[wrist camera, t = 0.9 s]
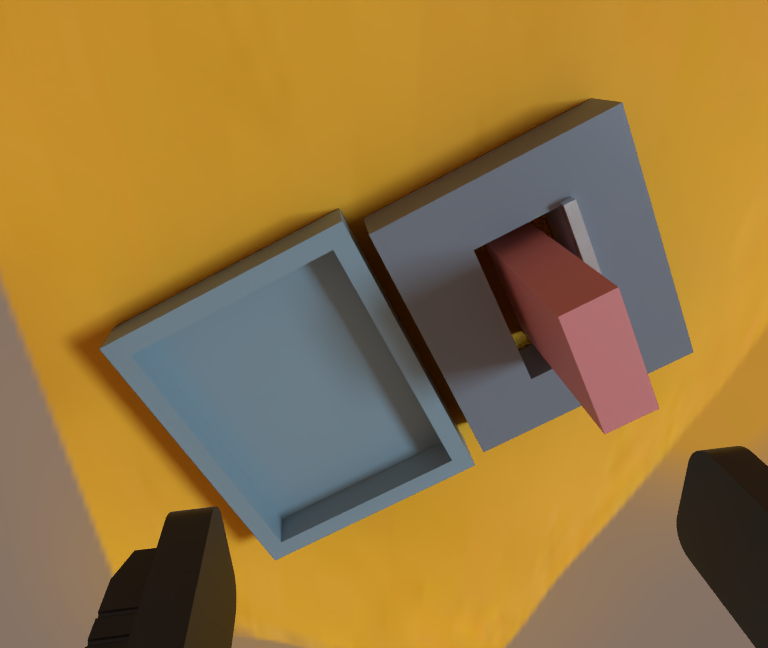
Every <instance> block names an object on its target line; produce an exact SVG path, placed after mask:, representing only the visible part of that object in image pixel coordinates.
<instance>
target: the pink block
mask: <svg viewBox="0 0 768 648" xmlns="http://www.w3.org/2000/svg"><path fill="white" fill-rule="evenodd" d="M485 246H486V248H487V250H488V253H489V255H490V257H491V259H492V262H493V264H494V266H495V269H496V271H497V273H498V276H499V278H500V280H501V282H502V285H503V287H504V289H505V292H506V294H507V296H508V299H509V301H510V303H511V305H512V308H513V310H514V312H515V315H516V317H517V319H518V322H519V324H520V326H521V328H522V331H523V332H524V334H525V335H526V336H527V337H528V339H529V340H530V341H531V342H532V344H533V345H534V346H535V347H536V349H537V350H538V351H539V352H540V354H541V355H542V356H543V357H544V359H545V360H546V361H547V362H548V364H549V365H550V366H551V367H552V369H553V370H554V371H555V372H556V374H557V375H558V376H559V377H560V379H561V380H562V381H563V383H564V384H565V385H566V386H567V388H568V389H569V390H570V391H571V393H572V394H573V395H574V396H575V398H576V399H577V400H578V401H579V403H580V404H581V405H582V406H583V408H584V409H585V410H586V411H587V413H588V414H589V415H590V416H591V418H592V419H593V420H594V421H595V423H596V424H597V425H598V427H599V428H600V429H601V430H602V432H603V433H604V434H606V433H608V432H611V431H613V430H615V429H617V428H619V427H621V426H623V425H625V424H627V423H630V422H632V421H634V420H636V419H638V418H640V417H642V416H644V415H647V414H649V413H651V412H653V411H655V410H657V409H659V406H658V403H657V400H656V397H655V394H654V391H653V388H652V385H651V382H650V379H649V376H648V373H647V370H646V367H645V365H644V362H643V359H642V356H641V353H640V350H639V347H638V344H637V341H636V338H635V335H634V332H633V329H632V326H631V323H630V320H629V317H628V314H627V311H626V308H625V305H624V302H623V299H622V296H621V293H620V290H619V287H618V286H616V285H615V284H614V283H612V282H611V281H610V280H608V279H607V278H605V277H604V276H603V275H601V274H600V273H599V272H597V271H596V270H594V269H593V268H592V267H590V266H589V265H588V264H586V263H585V262H584V261H582V260H581V259H579V258H578V257H577V256H575V255H574V254H573V253H571V252H570V251H568V250H567V249H566V248H564V247H563V246H562V245H560V244H559V243H558V242H556V241H555V240H553V239H552V238H551V237H549V236H548V235H547V234H545V233H544V232H542V231H541V230H540V229H538V228H537V227H536V226H534V225H533V224H532V223H530V222H528V223H526V224H524V225H522V226H520V227H518V228H516V229H514V230H512V231H510V232H508V233H506V234H504V235H503V236H501V237H499V238H497V239H495V240H493V241H491V242H489V243H487V244H485Z"/></svg>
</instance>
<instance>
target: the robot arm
mask: <svg viewBox="0 0 768 648" xmlns="http://www.w3.org/2000/svg"><path fill="white" fill-rule="evenodd" d="M677 532H678V537H679V540H680V543H681V546H682V548H683V550H684V552H685V554H686V555H687V557H688V558H689V560H690V561H691V562H692V564H693V565H694V566H695V568H696V569H697V570H698V572H699V573H700V574H701V576H702V577H703V578H704V580H705V581H706V582H707V584H708V585H709V586H710V588H711V589H712V590H713V592H714V593H715V594H716V596H717V597H718V598H719V599H720V601H721V602H722V603H723V605H724V606H725V607H726V609H727V610H728V611H729V613H730V614H731V615H732V617H733V618H734V619H735V621H736V622H737V623H738V625H739V626H740V627H741V629H742V630H743V631H744V633H745V634H746V635H747V637H748V638H749V639H750V641H751V642H752V643H753V645H754V646H755V647H756V648H768V466H767V465H765V463H763V462H762V461H761V460H760V459H759V458H758V457H757V456H756V455H755V454H753V453H752V452H751V451H750V450H748V449H747V448H745V447H742V446H735V447H726V448H717V449H709V450H701V451H696V452H694V453H693V454H692V455H691V457H690V459H689V462H688V467H687V472H686V476H685V481H684V486H683V491H682V496H681V500H680V505H679V510H678V515H677ZM235 615H236V583H235V575H234V570H233V566H232V561H231V557H230V552H229V547H228V543H227V538H226V534H225V529H224V525H223V520H222V516H221V512H220V510H219V508H218V507H208V508H200V509H191V510H183V511H175V512H170V513H169V514H168V515H167V517H166V520H165V523H164V526H163V529H162V532H161V536H160V539H159V542H158V545H157V548H152V549H144V550H136V551H134V552H133V553H132V554H131V556H130V557H129V558H128V559H127V560H126V562H125V563H124V564H123V565H122V566H121V568H120V569H119V570H118V571H117V572H116V574H115V575H114V576H113V577H112V578H111V580H110V582H109V585H108V588H107V590H106V593H105V596H104V598H103V601H102V603H101V606H100V609H99V611H98V618H97V619H95V622H94V624H93V627H92V630H91V633H90V635H89V638H88V646H87V647H85V648H231V645H232V638H233V631H234V623H235Z"/></svg>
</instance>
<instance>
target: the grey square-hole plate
mask: <svg viewBox="0 0 768 648" xmlns="http://www.w3.org/2000/svg"><path fill="white" fill-rule="evenodd" d="M544 214H545V216H546V219H547V222H548V224H549V227H550V230H551V232H552V235H553V238H554V240H555V241H556V242H558V243H559V244H560V245H562V246H563V247H564V248H566V249H567V250H568V251H570V252H571V253H573V254H574V255H575V256H577V257H578V258H579V259H581V260H582V261H584V262H585V263H586V264H588V265H589V266H590V267H592V268H593V269H594V270H596V271H597V272H599V273H600V274H601V275H603V276H604V277H605V278H607V279H608V280H610V281H611V282H612V283H614V284H615V285H616V286H618V287H619V290H620V293H621V296H622V299H623V302H624V305H625V308H626V311H627V314H628V317H629V320H630V323H631V326H632V329H633V332H634V335H635V338H636V341H637V344H638V347H639V350H640V353H641V356H642V359H643V362H644V365H645V367H646V370H647V373H651V372H653V371H655V370H657V369H659V368H661V367H663V366H665V365H667V364H669V363H672V362H674V361H676V360H678V359H680V358H682V357H684V356H686V355H688V354H690V353H692V352H693V349H692V345H691V342H690V338H689V335H688V331H687V328H686V324H685V321H684V317H683V314H682V310H681V307H680V303H679V300H678V296H677V293H676V289H675V286H674V282H673V279H672V275H671V272H670V268H669V265H668V261H667V258H666V254H665V251H664V247H663V244H662V240H661V237H660V233H659V230H658V226H657V223H656V219H655V216H654V212H653V209H652V205H651V201H650V198H649V194H648V191H647V187H646V184H645V180H644V177H643V173H642V170H641V166H640V163H639V159H638V156H637V152H636V149H635V145H634V142H633V138H632V135H631V131H630V128H629V124H628V121H627V117H626V114H625V110H624V107H623V103H622V102H615V101H608V100H601V99H594V98H591V99H589V100H587V101H586V102H584V103H582V104H580V105H578V106H576V107H574V108H572V109H570V110H568V111H566V112H565V113H563V114H561V115H559V116H557V117H555V118H553V119H551V120H549V121H547V122H546V123H544V124H542V125H540V126H538V127H536V128H534V129H532V130H530V131H528V132H526V133H525V134H523V135H521V136H519V137H517V138H515V139H513V140H511V141H509V142H507V143H506V144H504V145H502V146H500V147H498V148H496V149H494V150H492V151H490V152H488V153H486V154H485V155H483V156H481V157H479V158H477V159H475V160H473V161H471V162H469V163H467V164H466V165H464V166H462V167H460V168H458V169H456V170H454V171H452V172H450V173H448V174H447V175H445V176H443V177H441V178H439V179H437V180H435V181H433V182H431V183H429V184H427V185H426V186H424V187H422V188H420V189H418V190H416V191H414V192H412V193H410V194H408V195H407V196H405V197H403V198H401V199H399V200H397V201H395V202H393V203H391V204H389V205H387V206H386V207H384V208H382V209H380V210H378V211H376V212H374V213H372V214H370V215H368V216H367V217H365V218H363V220H364V223H365V226H366V228H367V231H368V234H369V236H370V238H371V240H372V242H373V244H374V246H375V247H376V249H377V251H378V253H379V255H380V257H381V259H382V261H383V263H384V265H385V266H386V268H387V270H388V272H389V274H390V276H391V278H392V280H393V282H394V283H395V285H396V287H397V289H398V291H399V293H400V295H401V297H402V299H403V301H404V302H405V304H406V306H407V308H408V310H409V312H410V314H411V316H412V318H413V319H414V321H415V323H416V325H417V327H418V329H419V331H420V333H421V335H422V336H423V338H424V340H425V342H426V344H427V346H428V348H429V350H430V352H431V354H432V355H433V357H434V359H435V361H436V363H437V365H438V367H439V369H440V371H441V372H442V374H443V376H444V378H445V380H446V382H447V384H448V386H449V388H450V390H451V391H452V393H453V395H454V397H455V399H456V401H457V403H458V405H459V407H460V408H461V410H462V412H463V414H464V416H465V418H466V420H467V422H468V424H469V426H470V427H471V429H472V431H473V433H474V435H475V437H476V439H477V441H478V443H479V444H480V446H481V448H482V450H483V452H485V451H487V450H489V449H491V448H493V447H496V446H498V445H500V444H502V443H504V442H506V441H508V440H510V439H512V438H514V437H517V436H519V435H521V434H523V433H525V432H527V431H529V430H531V429H533V428H535V427H537V426H540V425H542V424H544V423H546V422H548V421H550V420H552V419H554V418H556V417H558V416H560V415H563V414H565V413H567V412H569V411H571V410H573V409H575V408H577V407H579V406H581V404H580V403H579V401H578V400H577V399H576V398H575V396H574V395H573V394H572V393H571V391H570V390H569V389H568V388H567V386H566V385H565V384H564V383H563V381H562V380H561V379H560V377H559V376H558V375H557V374H556V372H555V371H554V370H553V369H552V367H551V366H550V365H549V364H548V362H547V361H546V360H545V359H544V357H543V356H542V355H541V354H540V352H539V351H538V350H537V349H536V347H535V346H534V345H533V344H531V345H529V346H527V347H525V348H523V349H521V350H518V348H517V346H516V344H515V342H514V339H513V337H512V335H511V333H510V330H509V328H508V326H507V324H506V321H505V319H504V317H503V315H502V312H501V310H500V308H499V306H498V303H497V301H496V299H495V297H494V295H493V292H492V290H491V288H490V286H489V283H488V281H487V279H486V277H485V274H484V272H483V270H482V268H481V265H480V263H479V261H478V259H477V256H476V254H475V252H474V250H475V249H477V248H479V247H481V246H483V245H485V244H487V243H489V242H491V241H493V240H495V239H497V238H499V237H501V236H503V235H504V234H506V233H508V232H510V231H512V230H514V229H516V228H518V227H520V226H522V225H524V224H526V223H528V222H530V221H532V220H534V219H536V218H538V217H540V216H542V215H544Z"/></svg>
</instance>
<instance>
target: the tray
mask: <svg viewBox="0 0 768 648" xmlns="http://www.w3.org/2000/svg"><path fill="white" fill-rule="evenodd" d="M100 351H101V352H102V353H103V354H104V355H105V357H106V358H107V359H108V360H109V361H110V363H111V364H112V365H113V366H114V367H115V369H116V370H117V371H118V372H119V373H120V375H121V376H122V377H123V378H124V379H125V381H126V382H127V383H128V384H129V385H130V387H131V388H132V389H133V390H134V391H135V393H136V394H137V395H138V396H139V397H140V399H141V400H142V401H143V402H144V403H145V405H146V406H147V407H148V408H149V409H150V411H151V412H152V413H153V414H154V415H155V417H156V418H157V419H158V420H159V421H160V423H161V424H162V425H163V426H164V427H165V429H166V430H167V431H168V432H169V433H170V435H171V436H172V437H173V438H174V439H175V441H176V442H177V443H178V444H179V446H180V447H181V448H182V449H183V450H184V452H185V453H186V454H187V455H188V456H189V458H190V459H191V460H192V461H193V462H194V464H195V465H196V466H197V467H198V468H199V470H200V471H201V472H202V473H203V474H204V476H205V477H206V478H207V479H208V480H209V482H210V483H211V484H212V485H213V486H214V488H215V489H216V490H217V491H218V492H219V494H220V495H221V496H222V497H223V498H224V500H225V501H226V502H227V503H228V504H229V506H230V507H231V508H232V509H233V510H234V512H235V513H236V514H237V515H238V516H239V518H240V519H241V520H242V521H243V522H244V524H245V525H246V526H247V527H248V528H249V530H250V531H251V532H252V533H253V534H254V536H255V537H256V538H257V539H258V540H259V542H260V543H261V544H262V545H263V546H264V548H265V549H266V550H267V551H268V552H269V554H270V555H271V556H272V557H273V558H274V560H277V559H279V558H281V557H283V556H285V555H288V554H290V553H292V552H294V551H296V550H298V549H300V548H302V547H304V546H306V545H309V544H311V543H313V542H315V541H317V540H319V539H321V538H323V537H325V536H327V535H330V534H332V533H334V532H336V531H338V530H340V529H342V528H344V527H346V526H348V525H351V524H353V523H355V522H357V521H359V520H361V519H363V518H365V517H367V516H369V515H372V514H374V513H376V512H378V511H380V510H382V509H384V508H386V507H388V506H390V505H393V504H395V503H397V502H399V501H401V500H403V499H405V498H407V497H409V496H412V495H414V494H416V493H418V492H420V491H422V490H424V489H426V488H428V487H430V486H433V485H435V484H437V483H439V482H441V481H443V480H445V479H447V478H449V477H451V476H454V475H456V474H458V473H460V472H462V471H464V470H466V469H468V468H470V467H472V466H475V464H474V462H473V459H472V457H471V455H470V452H469V450H468V447H467V445H466V443H465V440H464V438H463V436H462V434H461V433H460V431H459V429H458V427H457V425H456V423H455V421H454V420H453V418H452V416H451V414H450V412H449V410H448V409H447V407H446V405H445V403H444V401H443V399H442V397H441V396H440V394H439V392H438V390H437V388H436V386H435V384H434V383H433V381H432V379H431V377H430V375H429V373H428V372H427V370H426V368H425V366H424V364H423V362H422V360H421V359H420V357H419V355H418V353H417V351H416V349H415V347H414V346H413V344H412V342H411V340H410V338H409V336H408V335H407V333H406V331H405V329H404V327H403V325H402V323H401V322H400V320H399V318H398V316H397V314H396V312H395V310H394V309H393V307H392V305H391V303H390V301H389V299H388V298H387V296H386V294H385V292H384V290H383V288H382V286H381V285H380V283H379V281H378V279H377V277H376V275H375V273H374V272H373V270H372V268H371V266H370V264H369V262H368V261H367V259H366V257H365V255H364V253H363V251H362V249H361V248H360V246H359V244H358V242H357V240H356V238H355V236H354V235H353V233H352V231H351V229H350V227H349V225H348V224H347V222H346V220H345V218H344V216H343V214H342V212H341V211H340V209H337V210H335V211H333V212H331V213H329V214H328V215H326V216H324V217H322V218H320V219H318V220H316V221H314V222H312V223H311V224H309V225H307V226H305V227H303V228H301V229H299V230H297V231H295V232H294V233H292V234H290V235H288V236H286V237H284V238H282V239H280V240H278V241H276V242H275V243H273V244H271V245H269V246H267V247H265V248H263V249H261V250H259V251H258V252H256V253H254V254H252V255H250V256H248V257H246V258H244V259H242V260H241V261H239V262H237V263H235V264H233V265H231V266H229V267H227V268H225V269H224V270H222V271H220V272H218V273H216V274H214V275H212V276H210V277H208V278H207V279H205V280H203V281H201V282H199V283H197V284H195V285H193V286H191V287H190V288H188V289H186V290H184V291H182V292H180V293H178V294H176V295H174V296H173V297H171V298H169V299H167V300H165V301H163V302H161V303H159V304H157V305H155V306H154V307H152V308H150V309H148V310H146V311H144V312H142V313H140V314H138V315H137V316H135V317H133V318H131V319H129V320H127V321H125V322H123V323H121V324H120V325H118V326H116V327H114V329H113V330H112V332H111V333H110V334H109V336H108V337H107V339H106V340H105V341H104V343H103V344H102V346H101V347H100Z"/></svg>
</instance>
